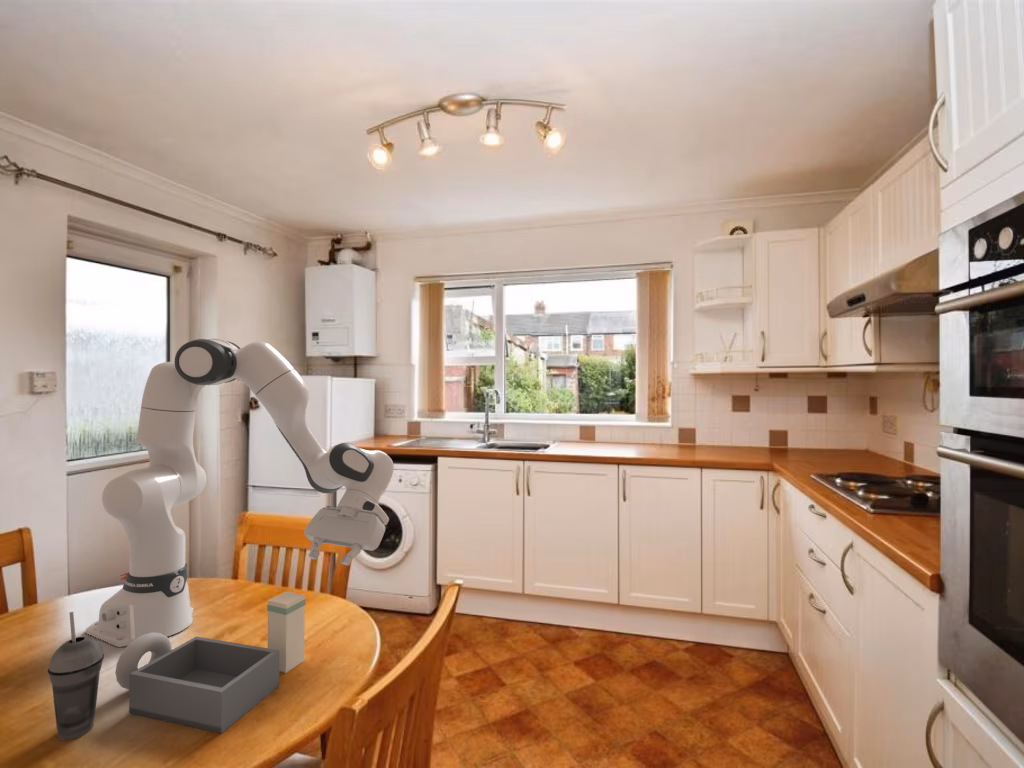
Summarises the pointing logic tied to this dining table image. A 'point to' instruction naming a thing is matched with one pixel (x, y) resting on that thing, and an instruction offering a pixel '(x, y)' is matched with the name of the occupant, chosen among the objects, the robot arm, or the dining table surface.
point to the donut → (140, 655)
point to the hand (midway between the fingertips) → (327, 561)
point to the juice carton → (287, 628)
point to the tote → (204, 683)
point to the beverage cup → (75, 684)
